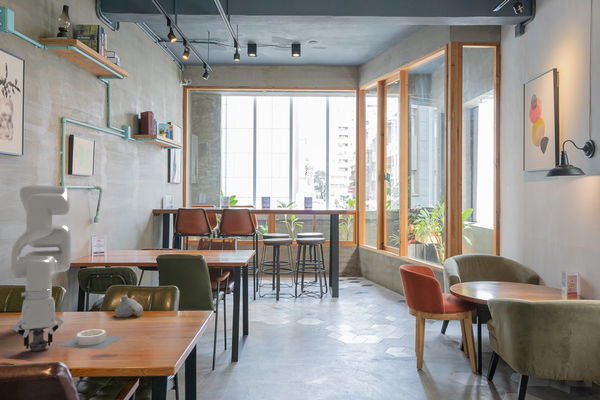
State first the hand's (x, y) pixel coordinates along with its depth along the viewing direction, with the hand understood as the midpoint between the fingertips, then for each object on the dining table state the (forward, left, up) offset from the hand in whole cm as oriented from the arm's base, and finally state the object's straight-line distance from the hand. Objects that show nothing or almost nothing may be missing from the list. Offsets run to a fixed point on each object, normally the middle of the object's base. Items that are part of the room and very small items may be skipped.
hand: (38, 345), depth 154 cm
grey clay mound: (+3, +52, -3) cm, 52 cm away
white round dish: (+12, +12, -1) cm, 17 cm away
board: (+12, +12, -3) cm, 17 cm away
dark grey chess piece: (0, 0, -3) cm, 3 cm away
